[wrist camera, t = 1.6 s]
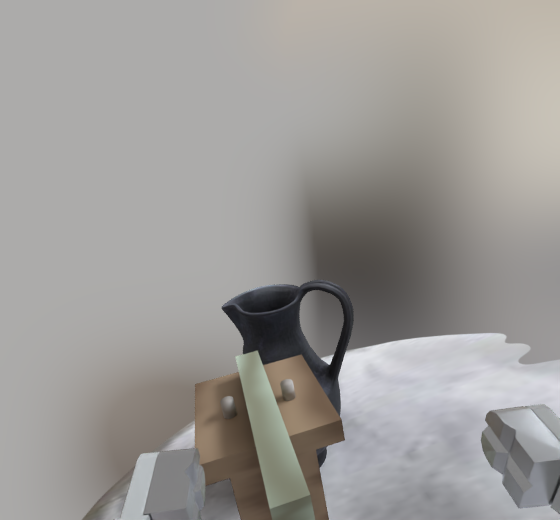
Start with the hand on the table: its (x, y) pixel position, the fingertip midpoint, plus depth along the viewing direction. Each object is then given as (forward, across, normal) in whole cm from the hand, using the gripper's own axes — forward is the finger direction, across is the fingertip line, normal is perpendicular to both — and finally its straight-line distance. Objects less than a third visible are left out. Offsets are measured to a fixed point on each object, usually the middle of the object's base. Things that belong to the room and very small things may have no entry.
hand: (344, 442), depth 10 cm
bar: (+14, +3, +17) cm, 22 cm away
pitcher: (+34, -2, +47) cm, 58 cm away
